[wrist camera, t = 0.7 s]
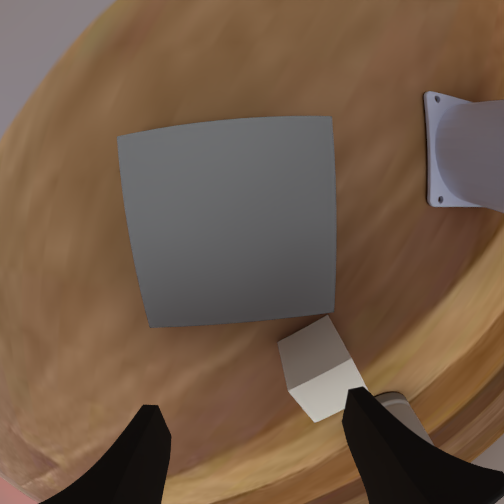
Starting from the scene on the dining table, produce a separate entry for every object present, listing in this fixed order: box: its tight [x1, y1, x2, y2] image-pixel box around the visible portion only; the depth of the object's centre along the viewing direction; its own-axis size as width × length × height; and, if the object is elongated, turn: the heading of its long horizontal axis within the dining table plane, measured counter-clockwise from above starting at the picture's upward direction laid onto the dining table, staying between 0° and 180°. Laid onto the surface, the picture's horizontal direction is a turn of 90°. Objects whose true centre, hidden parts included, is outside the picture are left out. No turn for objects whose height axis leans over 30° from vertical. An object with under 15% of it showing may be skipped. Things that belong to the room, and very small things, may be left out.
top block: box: [277, 315, 368, 423], centre depth 18 cm, size 4×4×5 cm
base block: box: [117, 116, 336, 328], centre depth 15 cm, size 10×10×4 cm
